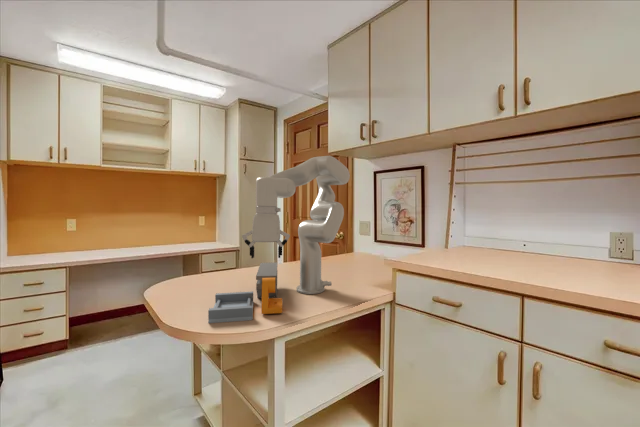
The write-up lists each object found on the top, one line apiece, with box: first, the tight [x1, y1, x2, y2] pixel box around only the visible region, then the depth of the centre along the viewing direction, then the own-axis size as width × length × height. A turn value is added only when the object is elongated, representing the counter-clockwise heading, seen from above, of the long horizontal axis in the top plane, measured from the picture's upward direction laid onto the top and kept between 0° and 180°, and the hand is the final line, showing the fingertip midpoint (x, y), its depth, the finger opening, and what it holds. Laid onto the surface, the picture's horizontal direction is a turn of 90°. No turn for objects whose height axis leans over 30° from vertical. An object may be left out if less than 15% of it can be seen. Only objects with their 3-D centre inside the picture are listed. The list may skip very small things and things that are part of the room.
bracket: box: [260, 278, 283, 315], centre depth 107 cm, size 11×7×12 cm, turn 8°
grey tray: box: [207, 290, 254, 324], centre depth 105 cm, size 14×18×4 cm
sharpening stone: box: [255, 262, 278, 299], centre depth 127 cm, size 25×8×11 cm, turn 7°
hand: (266, 257), depth 108 cm, fingers open, 9 cm apart
